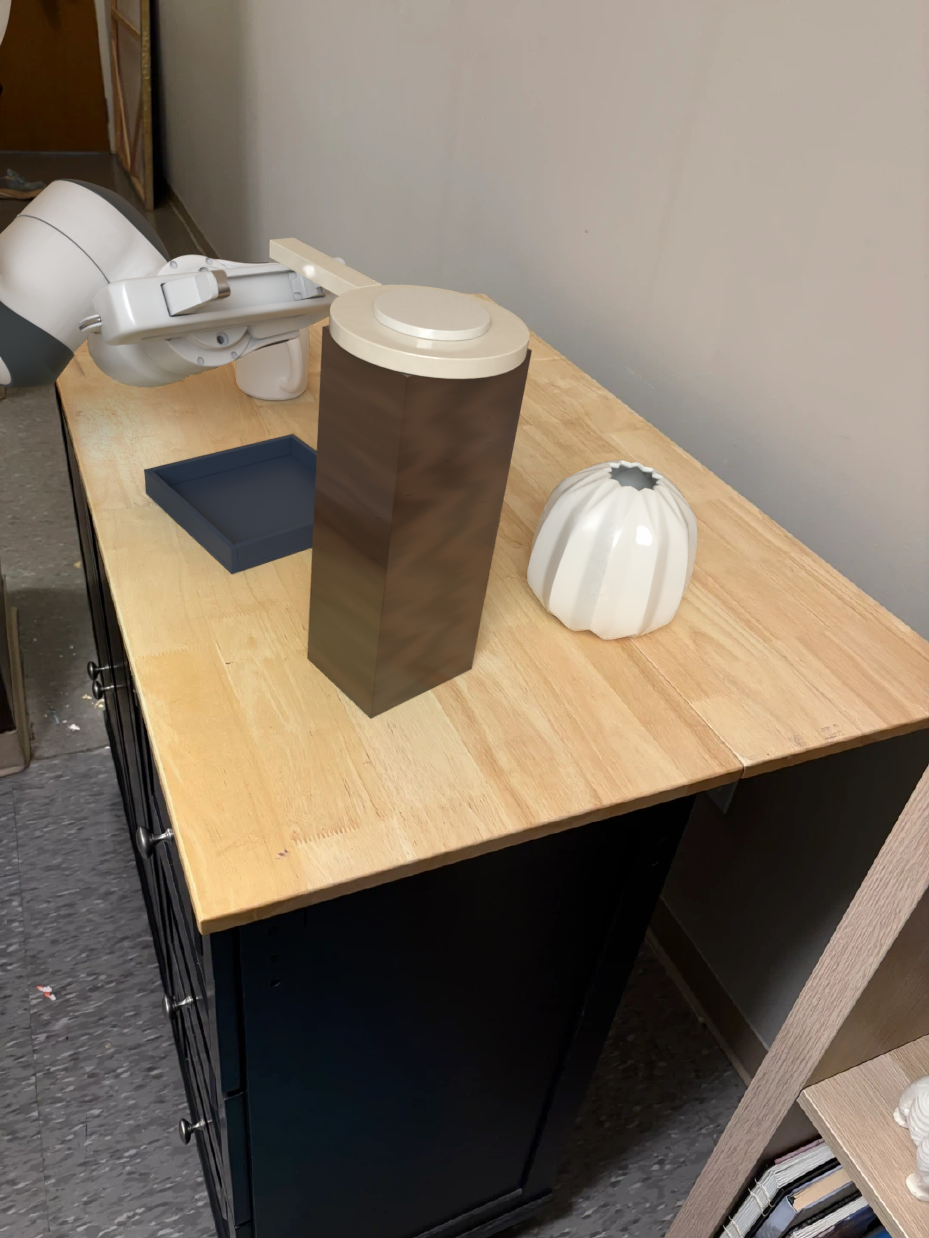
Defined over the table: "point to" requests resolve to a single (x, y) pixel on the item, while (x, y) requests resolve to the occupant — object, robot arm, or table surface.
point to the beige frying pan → (411, 321)
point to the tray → (242, 500)
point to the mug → (276, 369)
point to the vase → (614, 550)
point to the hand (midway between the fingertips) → (278, 276)
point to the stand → (404, 522)
